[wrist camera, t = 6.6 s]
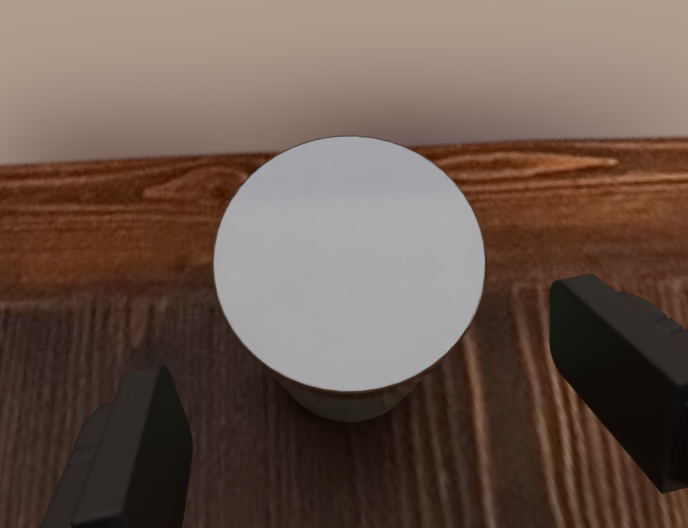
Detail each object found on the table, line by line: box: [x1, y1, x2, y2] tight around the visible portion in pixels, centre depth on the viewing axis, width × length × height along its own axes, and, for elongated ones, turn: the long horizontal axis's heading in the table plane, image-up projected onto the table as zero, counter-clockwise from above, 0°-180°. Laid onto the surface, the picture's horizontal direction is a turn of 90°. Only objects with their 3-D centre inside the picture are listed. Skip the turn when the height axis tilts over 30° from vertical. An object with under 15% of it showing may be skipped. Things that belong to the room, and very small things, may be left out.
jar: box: [212, 136, 487, 422], centre depth 15 cm, size 5×5×9 cm
